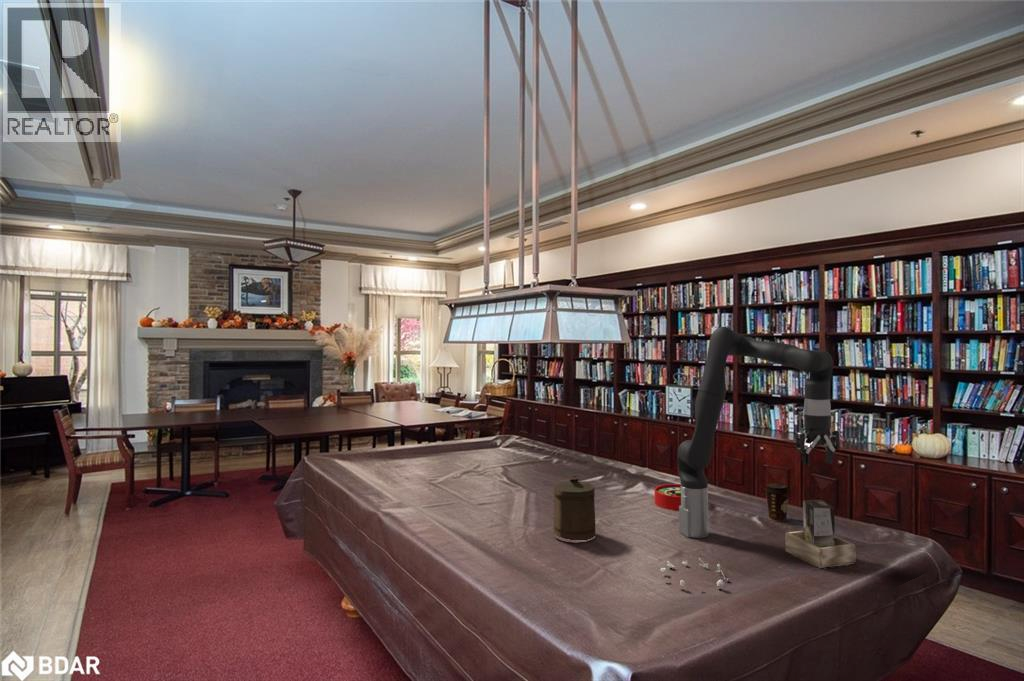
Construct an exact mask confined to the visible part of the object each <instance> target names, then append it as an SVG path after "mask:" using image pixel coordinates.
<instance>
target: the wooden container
mask: <svg viewBox="0 0 1024 681" xmlns="http://www.w3.org/2000/svg"><path fill="white" fill-rule="evenodd" d="M595 491H596V490H595V485H594V484H593V483H590V482H587V481H581V480H580V478H579V476H577V475H576V474H571V475H570V476H569V477H568V481H567V480H566V481H560V482H557V483H556V484H554V486H553V534H554V533H555V534H556V535H557V536H559V537H562V538H565V539H570V540H588V539H591V538H593V537H594V536H595V537H596V509H595V507H596V506H595Z"/></svg>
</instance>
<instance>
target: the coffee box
mask: <svg viewBox="0 0 1024 681" xmlns="http://www.w3.org/2000/svg"><path fill="white" fill-rule="evenodd" d="M802 513H803V514H802V515H803V516H802V517H803V531H804V540H805V541H807V542H809V543H811V544H813V545H815V546H817V547H819V548H822V547H830V546H835V536H836V535H835V534H836V533H835V531H836V530H835V507H834V506H832V505H831V504H830V503H828V502H826V501H825V500H823V499H803V500H802Z"/></svg>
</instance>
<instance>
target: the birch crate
mask: <svg viewBox="0 0 1024 681" xmlns="http://www.w3.org/2000/svg"><path fill="white" fill-rule="evenodd" d="M784 538H785V540H784V541H785V542H784V544H785V545H784V546H785V548H784V549H785V550H784V551H785V552H786V553H788V554H790V555H792V556H794V557H796V558H798V559H800V560H802V561H803V562H806V563H807V562H808V563H807V564H809V563H810V564H809V565H811V564H813V565H815V566H818V567H825V566H833V565H839V564H847V563H855V562H857V560H856V557H857V556H856V550H857V549H856V544H854V543H852V542H851V541H848V540H845V539H843V538H841V537H839V536H836V535H835V546H830V547H822V548H819V547H817V546H815V545H813V544H811V543H809V542H807V541H805V540H804V530H797V531H789V532H788V531H787V532H785V534H784ZM813 565H812V566H813ZM815 566H814V567H815Z"/></svg>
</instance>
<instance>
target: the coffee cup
mask: <svg viewBox="0 0 1024 681" xmlns="http://www.w3.org/2000/svg"><path fill="white" fill-rule="evenodd" d="M764 491H765V496H766V504H767V515H768V517H767V518H768V520H770V521H772V522H785V521H787V518H788V516H787V515H788V510H789V508H788V507H789V494H790V492H791V489H789V487H788V486H787V485H785V484H783V483H776V482H775V483H768V484H766V487H765V488H764Z"/></svg>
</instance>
